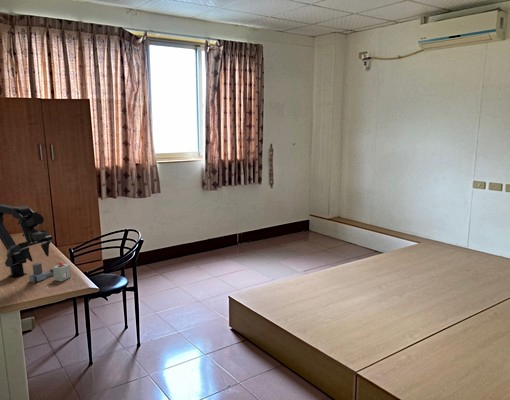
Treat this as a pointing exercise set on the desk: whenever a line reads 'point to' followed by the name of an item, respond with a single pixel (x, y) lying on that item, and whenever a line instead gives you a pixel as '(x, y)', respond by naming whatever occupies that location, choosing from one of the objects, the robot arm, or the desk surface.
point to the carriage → (38, 272)
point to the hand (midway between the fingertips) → (40, 258)
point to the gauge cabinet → (61, 272)
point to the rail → (48, 274)
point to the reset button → (60, 264)
